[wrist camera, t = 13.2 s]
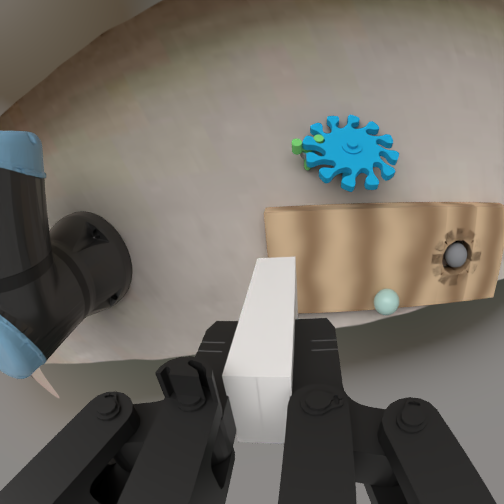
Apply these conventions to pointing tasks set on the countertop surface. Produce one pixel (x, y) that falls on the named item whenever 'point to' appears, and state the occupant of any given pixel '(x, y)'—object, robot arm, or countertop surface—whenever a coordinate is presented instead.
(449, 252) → the grey ball
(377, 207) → the board
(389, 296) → the teal ball
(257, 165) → the countertop surface
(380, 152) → the gear
